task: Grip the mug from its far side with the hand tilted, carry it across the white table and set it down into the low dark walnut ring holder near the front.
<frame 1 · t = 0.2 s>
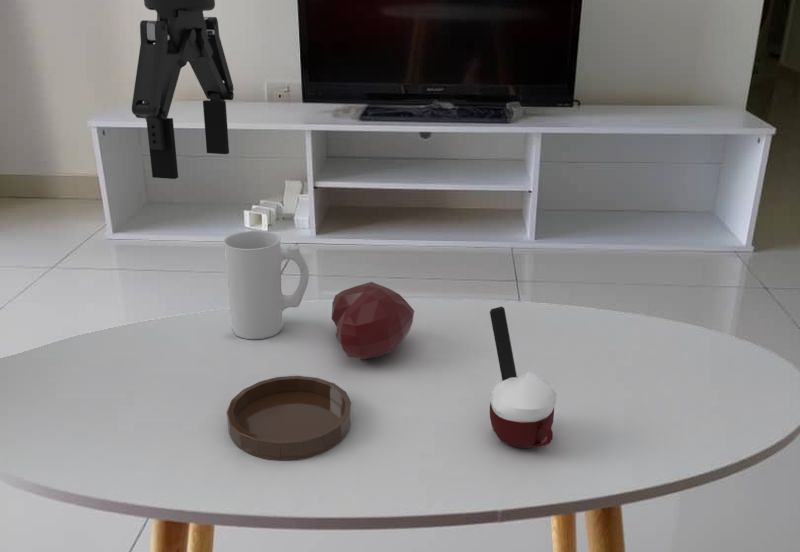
hand: (193, 164, 89), 21 cm above the table, tool pointing down, fingers open, 13 cm apart
mug: (270, 329, 95), on the table
heart: (374, 348, 91), on the table
holder: (290, 423, 76), on the table
cocoa: (517, 436, 75), on the table
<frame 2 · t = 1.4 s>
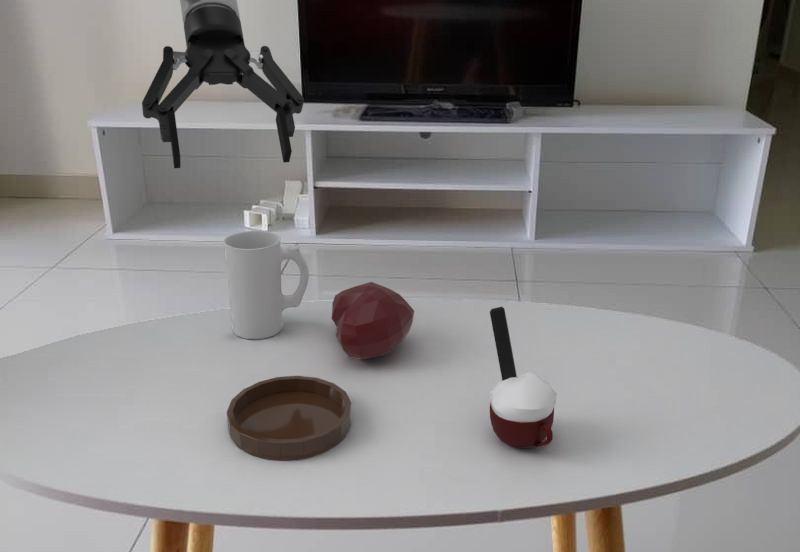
hand: (233, 160, 94), 20 cm above the table, tool tilted 45°, fingers open, 13 cm apart
nothing on the table moved.
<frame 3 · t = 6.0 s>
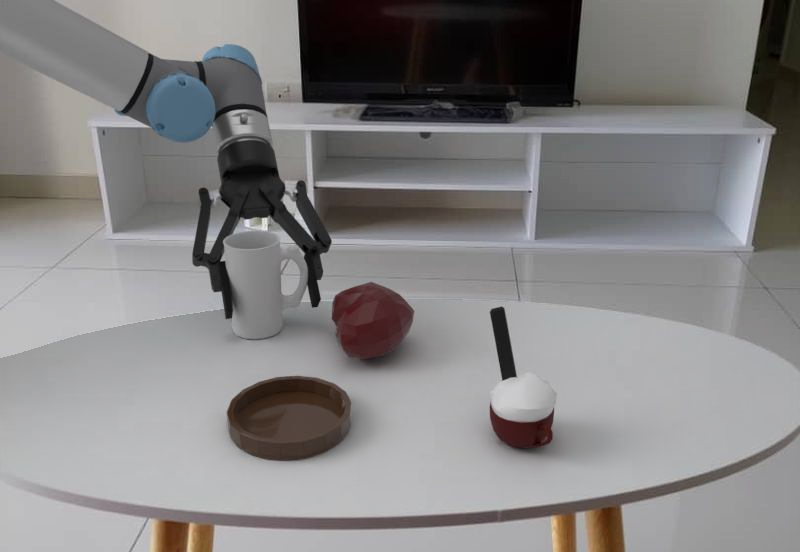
hand: (273, 309, 91), 4 cm above the table, tool tilted 45°, fingers closed on mug, 10 cm apart
mug: (270, 329, 95), on the table, touching gripper
everything else where it was.
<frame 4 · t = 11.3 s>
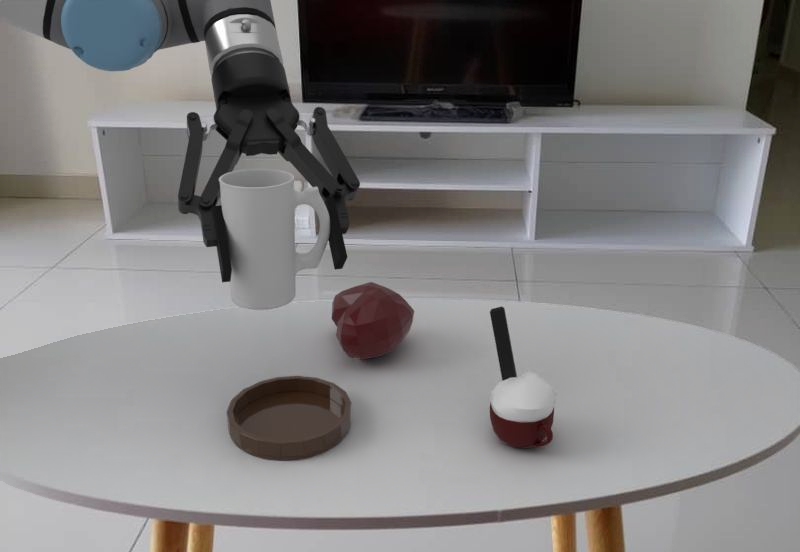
hand: (285, 269, 69), 17 cm above the table, tool tilted 45°, fingers closed on mug, 10 cm apart
mug: (280, 297, 73), point 13 cm above the table, touching gripper
everything else where it was.
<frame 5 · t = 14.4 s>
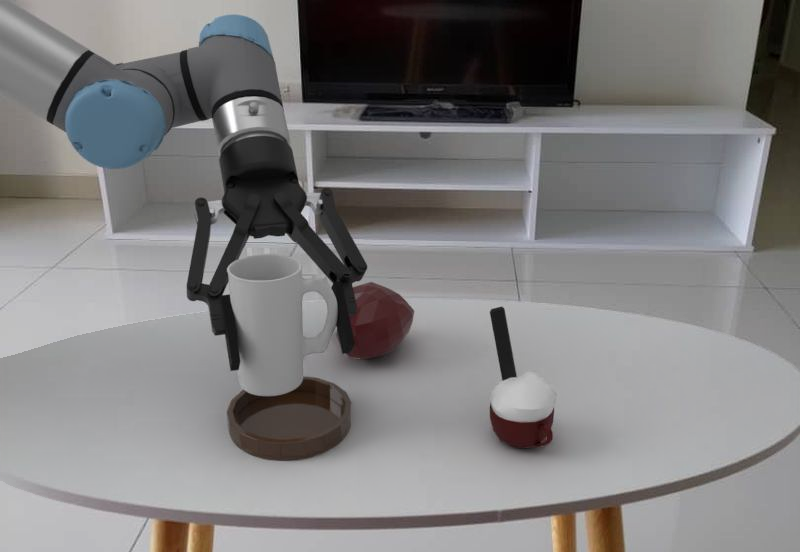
hand: (293, 357, 70), 9 cm above the table, tool tilted 45°, fingers closed on mug, 10 cm apart
mug: (288, 380, 74), point 5 cm above the table, touching gripper
everything else where it was.
when the fingers open (4 cm above the table, at t = 16.6 s): mug stays where it is, resting on holder.
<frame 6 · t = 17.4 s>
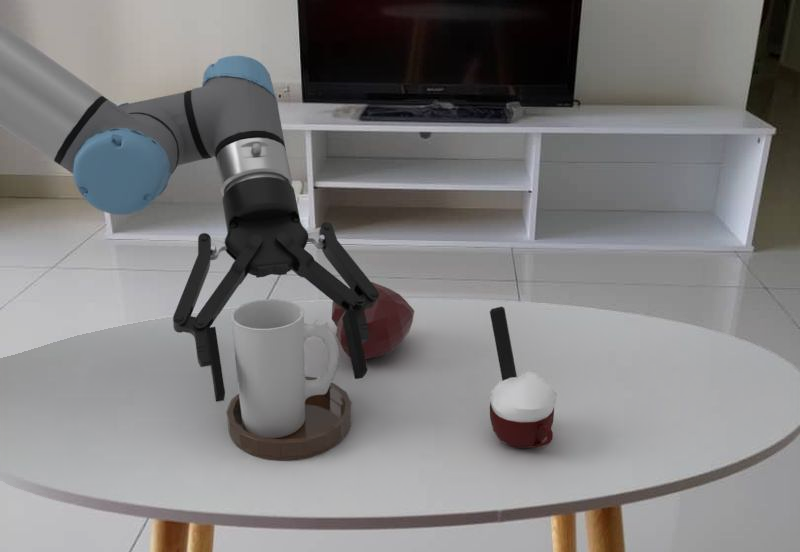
hand: (293, 386, 71), 6 cm above the table, tool tilted 45°, fingers open, 13 cm apart
mug: (290, 421, 76), resting on holder
everything else where it was.
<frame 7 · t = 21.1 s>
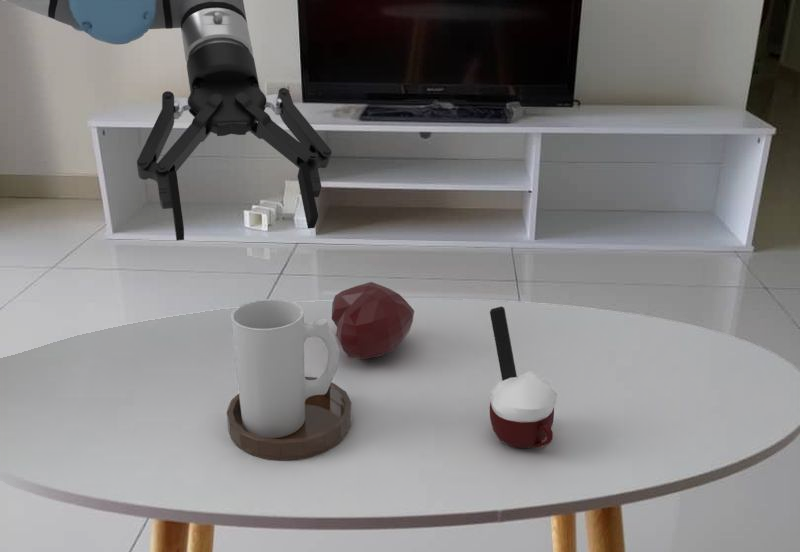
hand: (248, 228, 77), 18 cm above the table, tool tilted 45°, fingers open, 13 cm apart
nothing on the table moved.
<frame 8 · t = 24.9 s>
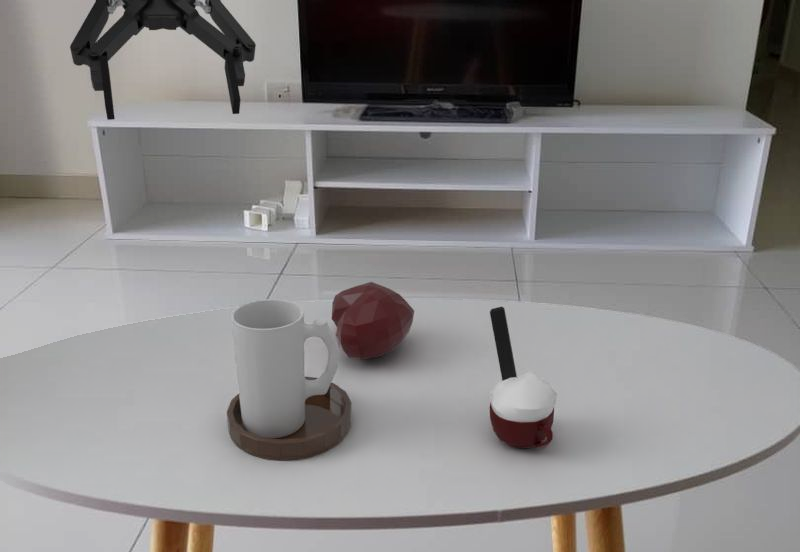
hand: (174, 110, 83), 28 cm above the table, tool tilted 45°, fingers open, 13 cm apart
nothing on the table moved.
at the end: mug 0.0 cm off-centre in the holder, point 0.2 cm above the holder's base; mug tilted 0°; the gripper is holding nothing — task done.
